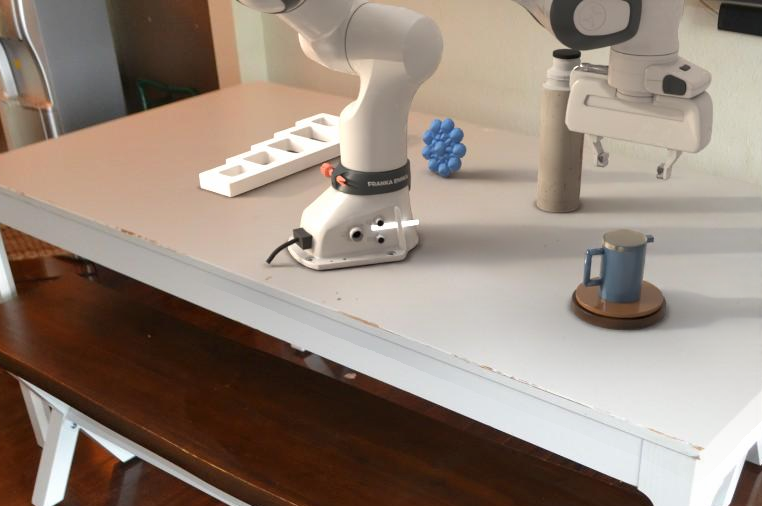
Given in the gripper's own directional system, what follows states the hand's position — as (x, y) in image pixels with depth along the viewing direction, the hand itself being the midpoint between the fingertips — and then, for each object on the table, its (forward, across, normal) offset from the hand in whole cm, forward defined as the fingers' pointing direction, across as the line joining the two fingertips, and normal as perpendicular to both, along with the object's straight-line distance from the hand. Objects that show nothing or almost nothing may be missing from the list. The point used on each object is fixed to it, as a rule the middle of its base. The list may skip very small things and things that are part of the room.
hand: (631, 172), depth 137 cm
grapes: (+22, -54, +35) cm, 68 cm away
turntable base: (+21, 0, 0) cm, 21 cm away
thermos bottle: (+22, -27, +33) cm, 48 cm away
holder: (+22, -89, +26) cm, 95 cm away
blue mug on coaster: (+20, 0, 0) cm, 20 cm away
